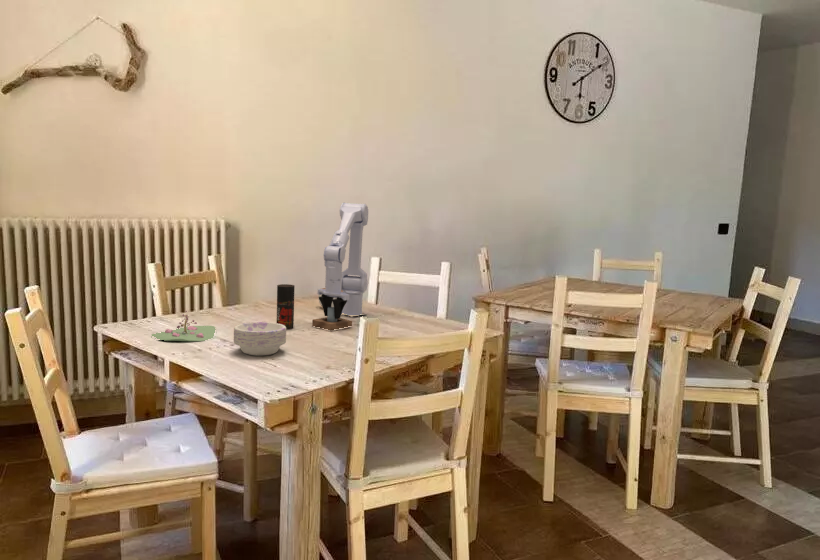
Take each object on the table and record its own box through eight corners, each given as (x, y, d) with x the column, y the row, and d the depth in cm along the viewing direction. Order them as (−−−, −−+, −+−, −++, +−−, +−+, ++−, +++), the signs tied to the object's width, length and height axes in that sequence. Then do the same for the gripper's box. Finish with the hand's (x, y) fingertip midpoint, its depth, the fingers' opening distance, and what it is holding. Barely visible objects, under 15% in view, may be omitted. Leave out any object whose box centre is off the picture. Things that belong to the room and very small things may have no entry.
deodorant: (272, 328, 221) (273, 285, 219) (283, 325, 226) (284, 283, 224) (286, 330, 218) (287, 287, 216) (297, 327, 223) (298, 285, 221)
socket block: (312, 326, 226) (312, 319, 226) (332, 322, 234) (333, 316, 233) (331, 331, 220) (331, 324, 220) (351, 327, 227) (352, 320, 227)
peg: (325, 326, 227) (325, 307, 226) (332, 325, 229) (333, 306, 228) (331, 328, 224) (332, 309, 223) (339, 327, 227) (339, 308, 226)
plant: (170, 325, 219) (170, 299, 218) (230, 328, 220) (230, 302, 218) (141, 343, 195) (140, 314, 193) (208, 346, 195) (208, 317, 194)
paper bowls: (264, 343, 200) (264, 318, 198) (296, 352, 190) (296, 327, 189) (222, 351, 188) (223, 325, 187) (254, 361, 178) (255, 334, 177)
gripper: (311, 277, 226) (310, 315, 228) (339, 283, 217) (338, 322, 219) (326, 276, 231) (325, 312, 233) (354, 281, 222) (352, 319, 224)
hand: (332, 317), depth 226 cm, fingers open, 5 cm apart
